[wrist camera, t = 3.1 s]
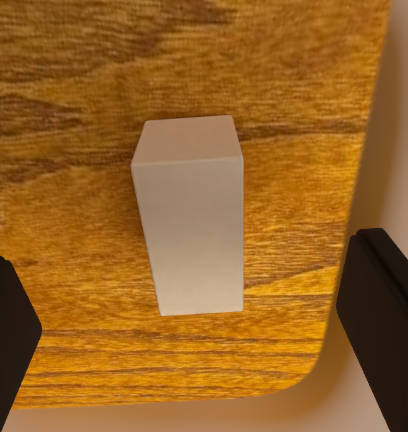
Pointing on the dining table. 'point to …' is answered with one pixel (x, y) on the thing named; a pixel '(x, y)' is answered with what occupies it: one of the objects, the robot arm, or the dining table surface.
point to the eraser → (192, 212)
